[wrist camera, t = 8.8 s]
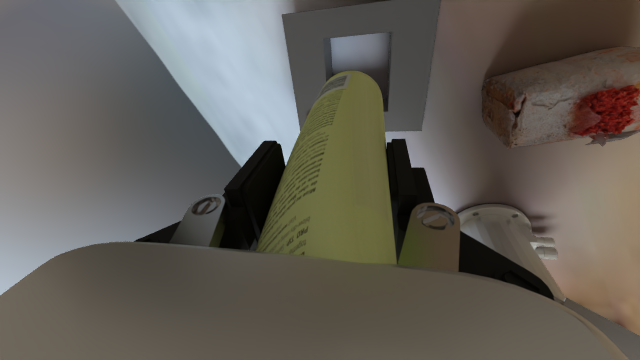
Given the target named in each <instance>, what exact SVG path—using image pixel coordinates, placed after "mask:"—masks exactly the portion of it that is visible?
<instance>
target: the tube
mask: <svg viewBox="0 0 640 360" xmlns="http://www.w3.org/2000/svg"><path fill="white" fill-rule="evenodd" d="M255 251H261V252H272V253H283V254H294V255H305V256H313V257H320V258H326V259H333V260H341V261H348V262H357V263H377V264H397V261H396V250H395V240H394V230H393V220H392V209H391V199H390V188H389V177H388V164H387V152H386V139H385V126H384V111H383V99H382V94H381V91H380V88H379V86H378V85H377V83H376V82H375V81H374V80H373V79H372V78H371V77H370V76H368V75H367V74H365V73H362V72H359V71H344V72H341V73H338V74H336V75H334V76H333V77H331V78H330V79H329V80H328V81H327V82H326V83H325V85H324V86H323V88H322V89H321V91H320V93H319V95H318V97H317V99H316V101H315V103H314V104H313V106H312V109H311V111H310V113H309V115H308V117H307V119H306V121H305V123H304V125H303V127H302V129H301V132H300V134H299V136H298V138H297V141H296V143H295V145H294V148H293V150H292V152H291V155H290V157H289V160H288V162H287V165H286V167H285V170H284V172H283V175H282V177H281V180H280V183H279V185H278V188H277V191H276V193H275V196H274V199H273V202H272V205H271V207H270V210H269V213H268V216H267V218H266V221H265V224H264V227H263V230H262V233H261V236H260V239H259V241H258V244H257V247H256V250H255Z"/></svg>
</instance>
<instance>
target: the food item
mask: <svg viewBox="0 0 640 360" xmlns="http://www.w3.org/2000/svg"><path fill="white" fill-rule="evenodd" d="M482 99H483V115H482V116H483V119H484V123H485V125H486V126H487V127H488V128H489V129H490V130H492V132H493V133H494V134H495V135H496V136H497V137H498V138H499V139H500V141H501V142H502V143H503V144H504V145H506V147H507V148H508V149H511V148H515V147H522V146H530V145H537V144H545V143H552V142H557V141H565V140H572V139H577V138H585V137H591V138H592V139H593V140H592V142H591V143H588V144H585V145H590V144H596V143H599V144H600V145H601V144H602V145H601V146H602V147H603V146H604V145H605V144H606V142H610V141H615V140H621V139H624V138H627V137H629V136H631V135H633V134H635V133H638V132H640V48H634V47H624V46H623V47H614V48H608V49H602V50H597V51H593V52H589V53H585V54H581V55H577V56H573V57H569V58H565V59H561V60H558V61H555V62H549V63H545V64H540V65H536V66H532V67H529V68H525V69H521V70H517V71H513V72H510V73H506V74H503V75H499V76H495V77H492V78H489V79H487V80H484V84H483V90H482ZM604 137H606V138H604Z"/></svg>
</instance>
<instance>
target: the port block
mask: <svg viewBox="0 0 640 360" xmlns="http://www.w3.org/2000/svg"><path fill="white" fill-rule="evenodd" d="M440 1H441V0H390V1H382V2H374V3H367V4H359V5H351V6H344V7H336V8H328V9H321V10H313V11H305V12H298V13H290V14H282V19H283V25H284V32H285V38H286V44H287V50H288V57H289V63H290V69H291V75H292V82H293V88H294V94H295V100H296V107H297V113H298V119H299V125H300V132H301V129H302V127H303V125H304V123H305V121H306V119H307V117H308V115H309V113H310V111H311V109H312V106H313V104H314V103H315V101H316V99H317V97H318V95H319V93H320V91H321V89H322V88H323V86H324V85H325V83H326V82H327V81H328V80H329V79H330V78H331V77H333V72H332V57H331V42H330V38H335V37H345V36H355V35H364V34H374V33H384V32H390V41H389V60H388V79H387V98H386V99H383V111H384V126H385V132H386V131H422V125H423V118H424V111H425V104H426V98H427V91H428V84H429V77H430V70H431V63H432V56H433V49H434V43H435V36H436V29H437V22H438V15H439V8H440Z"/></svg>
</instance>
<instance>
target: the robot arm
mask: <svg viewBox="0 0 640 360" xmlns="http://www.w3.org/2000/svg"><path fill="white" fill-rule="evenodd" d="M386 152H387V164H388V177H389V188H390V199H391V209H392V220H393V230H394V240H395V250H396V261H397V264H377V263H357V262H348V261H341V260H333V259H326V258H320V257H313V256H305V255H294V254H283V253H272V252H261V251H255V250H256V247H257V244H258V241H259V239H260V236H261V233H262V230H263V227H264V224H265V221H266V218H267V216H268V213H269V210H270V207H271V205H272V202H273V199H274V196H275V193H276V191H277V188H278V185H279V183H280V180H281V177H282V175H283V172H284V170H285V167H286V166H285V162H284V157H283V153H282V148H281V145H280V144H277V142H276V141H263V143H262V144H261V145H260V146H259V147H258V149H257V150H256V151H255V152H254V153H253V155H252V156H251V157H250V158H249V159H248V161H247V162H246V163H245V164H244V165H243V167H242V168H241V169H240V170H239V172H238V173H237V174H236V175H235V176H234V178H233V179H232V180H231V181H230V182H229V184H228V185H227V186H226V187H225V188H224V190H225V193H224V194H223V195H222V196H221V195H217V194H214V195H207V196H204V197H202V198H200V199H198V200H196V201H195V202H193V203H192V204H191V205H190V207H189V208H188V210H187V211H186V213H185V215H184V217H183V219H182V220H181V221H179V222H177V223H175V224H172V225H170V226H168V227H166V228H163V229H161V230H159V231H157V232H154V233H152V234H149V235H147V236H145V237H143V238H140V239H138V240H136V241H134V242H109V243H101V244H94V245H90V246H86V247H81V248H77V249H74V250H71V251H68V252H65V253H63V254H60V255H58V256H56V257H54V258H52V259H50V260H49V261H47V262H46V263H44V264H43V265H41V266H40V267H38V268H37V269H35V270H34V271H33V272H31V273H30V274H29V275H27V276H26V277H24V278H23V279H22V280H20V281H19V282H18V283H16V284H15V285H14V286H12V287H11V288H10V289H9V290H7V291H6V292H4V293H3V294H2V295H0V360H640V336H639V335H637V334H635V333H633V332H631V331H629V330H627V329H625V328H624V327H622V326H620V325H618V324H616V323H614V322H612V321H610V320H608V319H606V318H604V317H603V316H601V315H599V314H597V313H595V312H593V311H591V310H589V309H587V308H585V307H583V306H582V305H580V304H578V303H576V302H574V301H572V300H570V299H568V298H566V297H565V296H564V294H563V293H562V291H561V290H560V288H559V286H558V285H557V283H556V282H555V280H554V279H553V277H552V276H551V274H550V273H549V271H548V270H547V268H546V267H545V265H544V264H543V262H542V261H541V259H553V260H555V259H557V257H558V252H557V250H556V249H555V248H554V247H553V246H554V245H555V241H554V239H553V238H548V237H536V236H534V235H532V233H531V232H532V229H531V224H530V221H529V220H528V218H527V217H526V216H525V215H524V214H523V213H522V212H521V211H520V210H518V209H516V208H514V207H511V206H508V205H502V204H484V205H478V206H474V207H471V208H468V209H466V210H464V211H462V212H460V213H458V214H456V212H454V211H453V210H452V209H451V208H449V207H447V206H445V205H441V204H438V203H435V202H434V198H433V195H432V192H431V188H430V185H429V182H428V178H427V175H426V172H425V169H424V168H411V163H410V159H409V154H408V150H407V145H406V141H405V139H392V142H387V149H386ZM537 245H541V246H539V247H537ZM543 246H550V247H543ZM250 250H252V251H250ZM540 258H541V259H540Z"/></svg>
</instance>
